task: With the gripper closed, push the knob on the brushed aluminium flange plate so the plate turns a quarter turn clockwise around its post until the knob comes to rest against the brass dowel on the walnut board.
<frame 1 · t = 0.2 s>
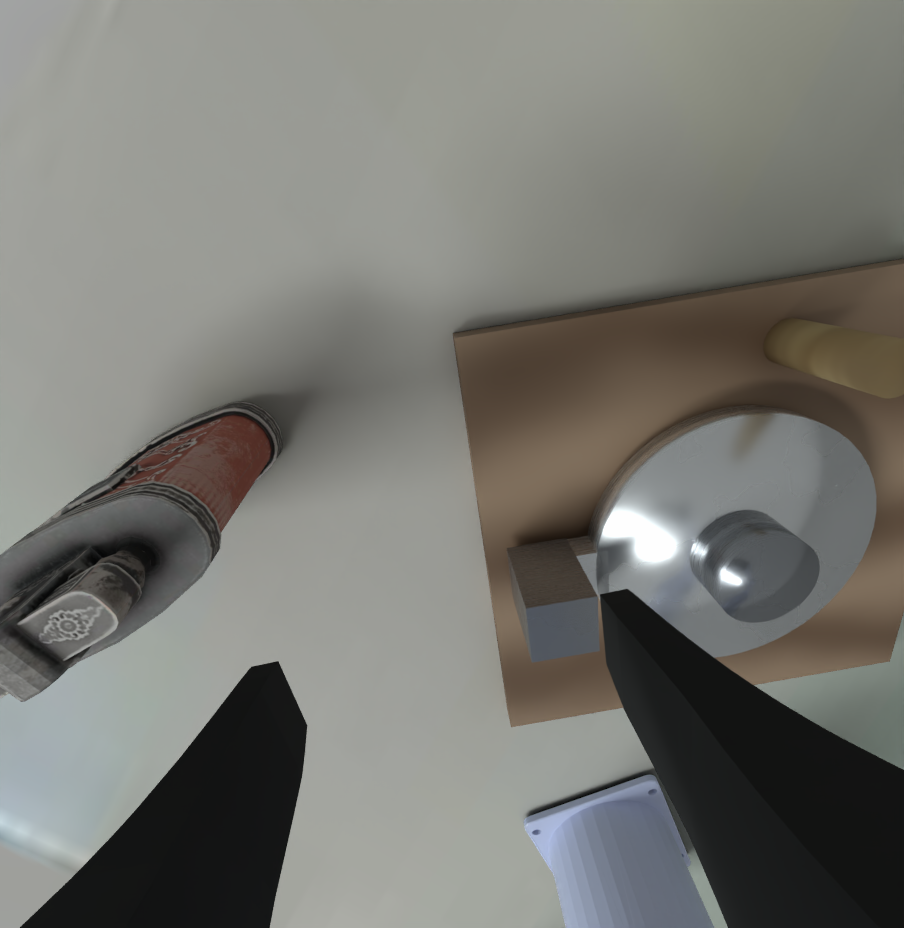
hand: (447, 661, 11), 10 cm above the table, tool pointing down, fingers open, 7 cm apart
walnut board: (701, 518, 22), on the table
lighter: (190, 470, 19), on the table
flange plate: (704, 568, 19), point 3 cm above the table, hinge at 0.0°
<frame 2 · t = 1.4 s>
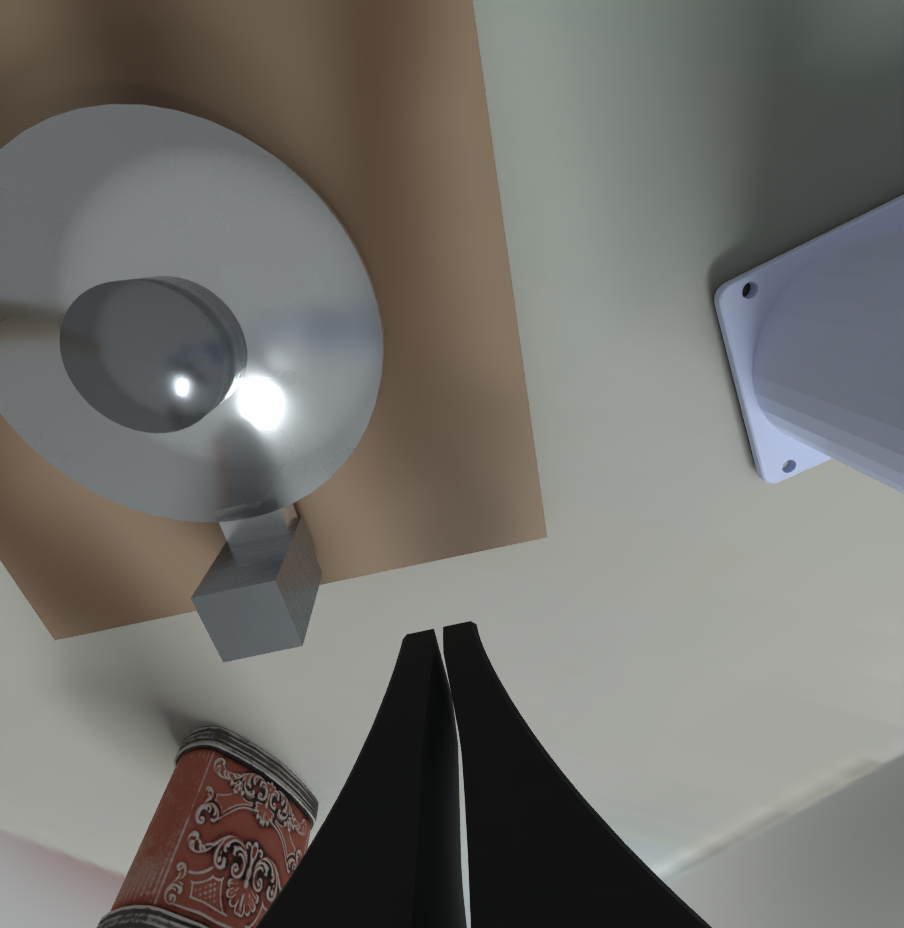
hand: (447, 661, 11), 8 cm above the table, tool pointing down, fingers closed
walnut board: (212, 332, 16), on the table
lighter: (254, 773, 24), on the table
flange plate: (192, 408, 14), point 3 cm above the table, hinge at 0.0°
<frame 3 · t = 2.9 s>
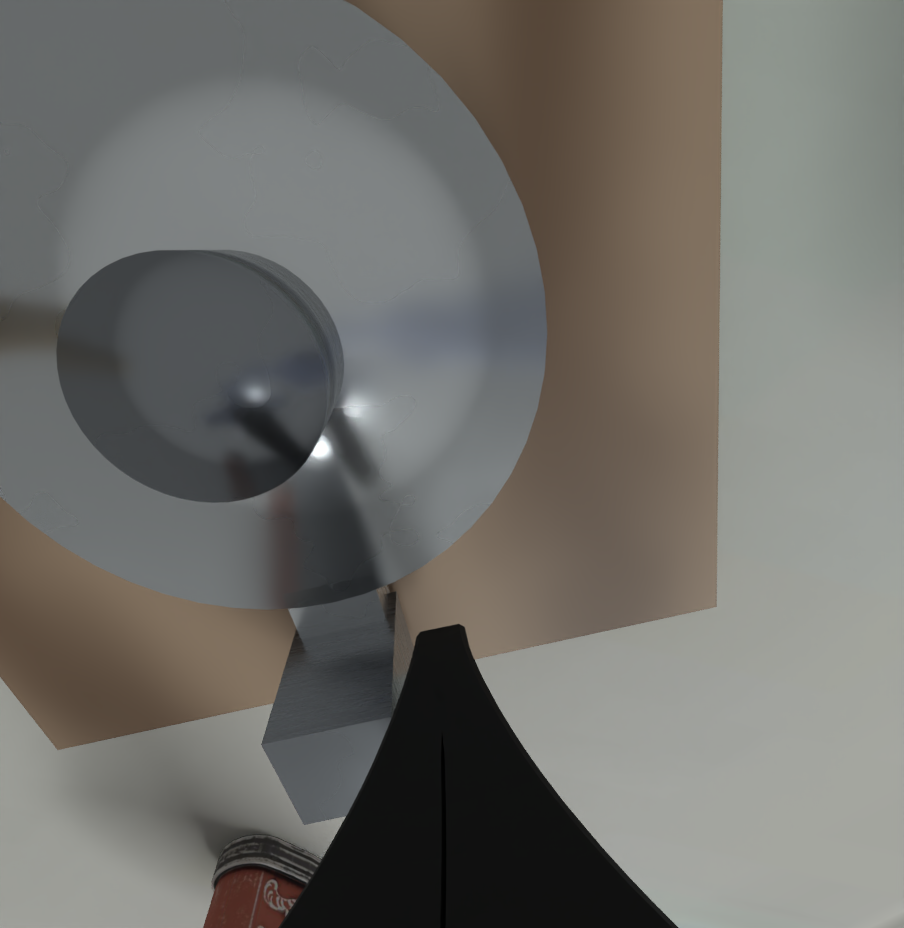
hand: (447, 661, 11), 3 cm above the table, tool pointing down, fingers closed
walnut board: (275, 337, 11), on the table
lighter: (308, 883, 20), on the table
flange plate: (262, 456, 9), point 3 cm above the table, hinge at -0.1°, touching gripper
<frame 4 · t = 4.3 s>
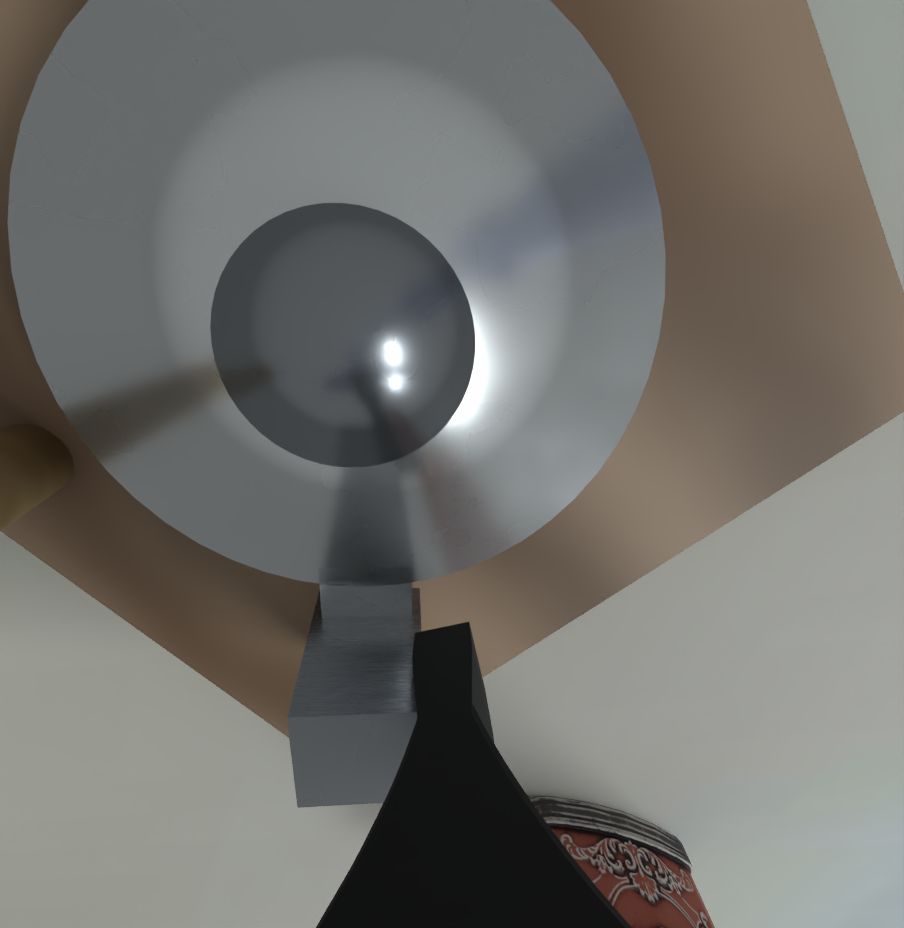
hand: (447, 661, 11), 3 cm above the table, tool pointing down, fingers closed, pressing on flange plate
walnut board: (368, 311, 11), on the table
lighter: (594, 832, 20), on the table
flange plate: (358, 427, 9), point 3 cm above the table, hinge at -39.8°, touching gripper
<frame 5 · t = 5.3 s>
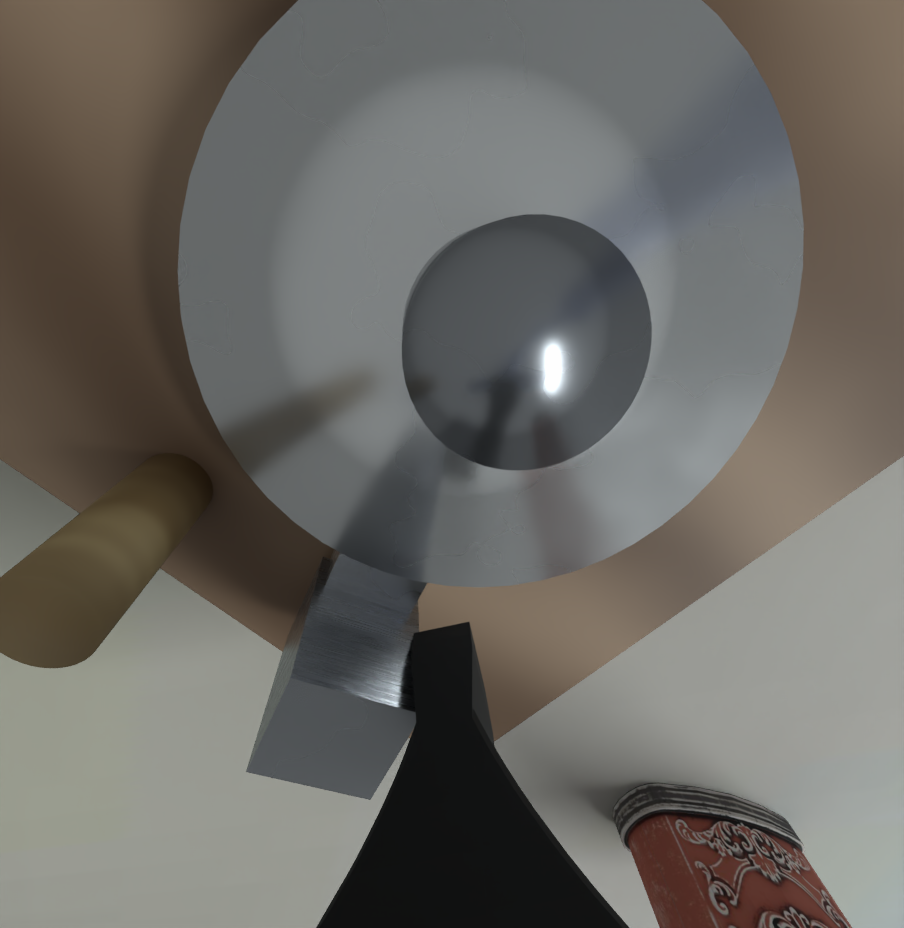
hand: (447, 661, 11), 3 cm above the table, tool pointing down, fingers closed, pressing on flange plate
walnut board: (483, 317, 11), on the table
lighter: (700, 816, 20), on the table
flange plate: (467, 423, 9), point 3 cm above the table, hinge at -68.0°, touching gripper
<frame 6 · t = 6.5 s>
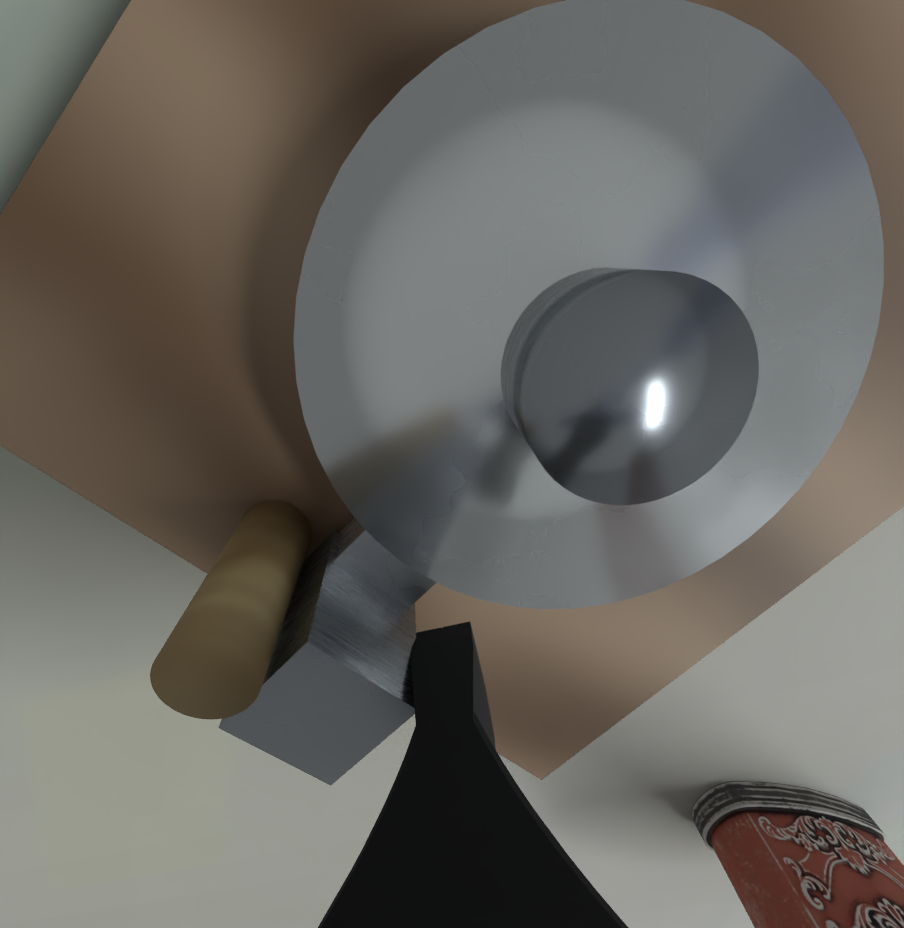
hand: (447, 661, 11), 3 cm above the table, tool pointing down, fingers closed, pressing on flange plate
walnut board: (557, 348, 12), on the table
lighter: (778, 811, 20), on the table
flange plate: (542, 442, 9), point 3 cm above the table, hinge at -90.3°, touching gripper
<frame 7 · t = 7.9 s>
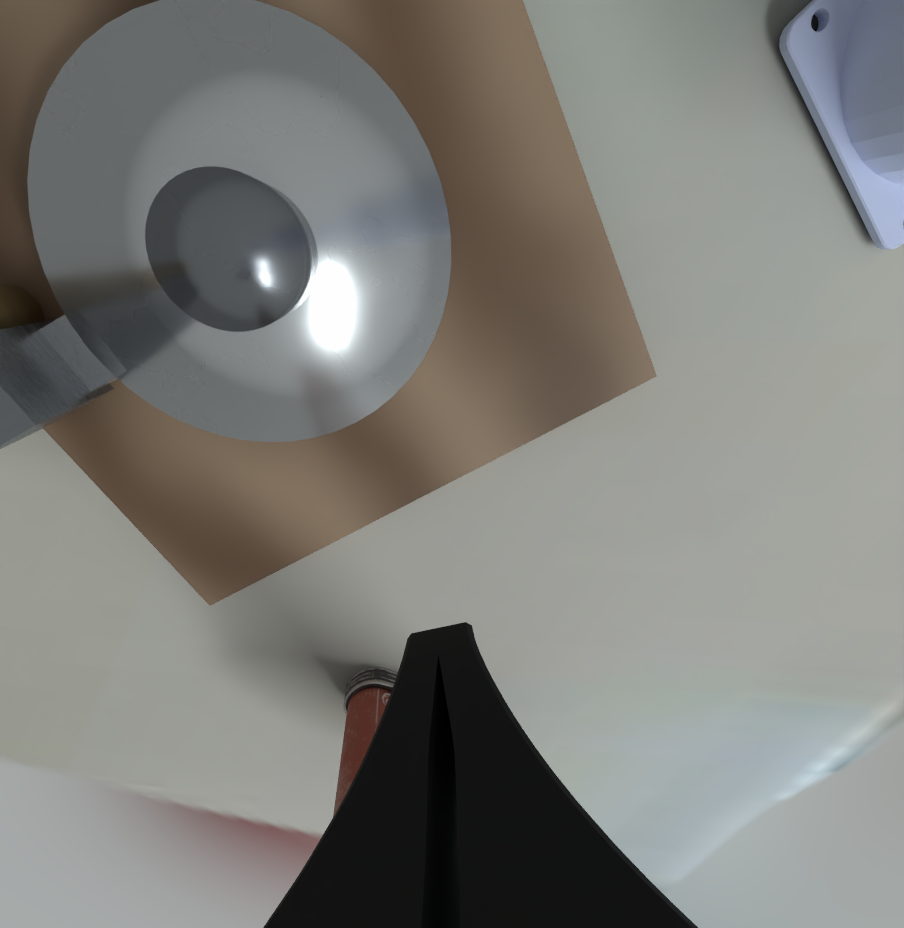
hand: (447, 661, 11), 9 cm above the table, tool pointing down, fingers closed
walnut board: (273, 253, 16), on the table
lighter: (420, 709, 25), on the table
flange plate: (191, 283, 13), point 3 cm above the table, hinge at -90.9°, touching walnut board
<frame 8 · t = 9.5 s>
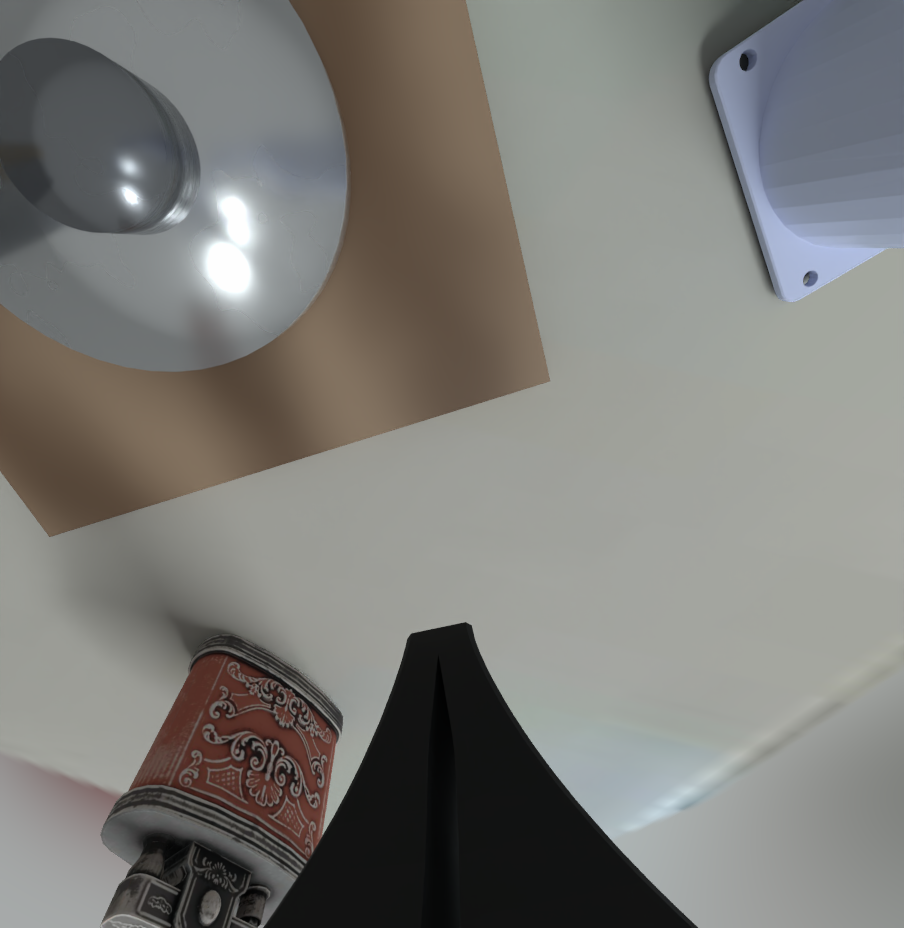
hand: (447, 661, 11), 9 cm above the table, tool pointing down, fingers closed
walnut board: (169, 171, 15), on the table
lighter: (274, 686, 24), on the table
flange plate: (49, 172, 12), point 3 cm above the table, hinge at -90.9°, touching walnut board
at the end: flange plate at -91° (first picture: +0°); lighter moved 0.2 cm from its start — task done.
